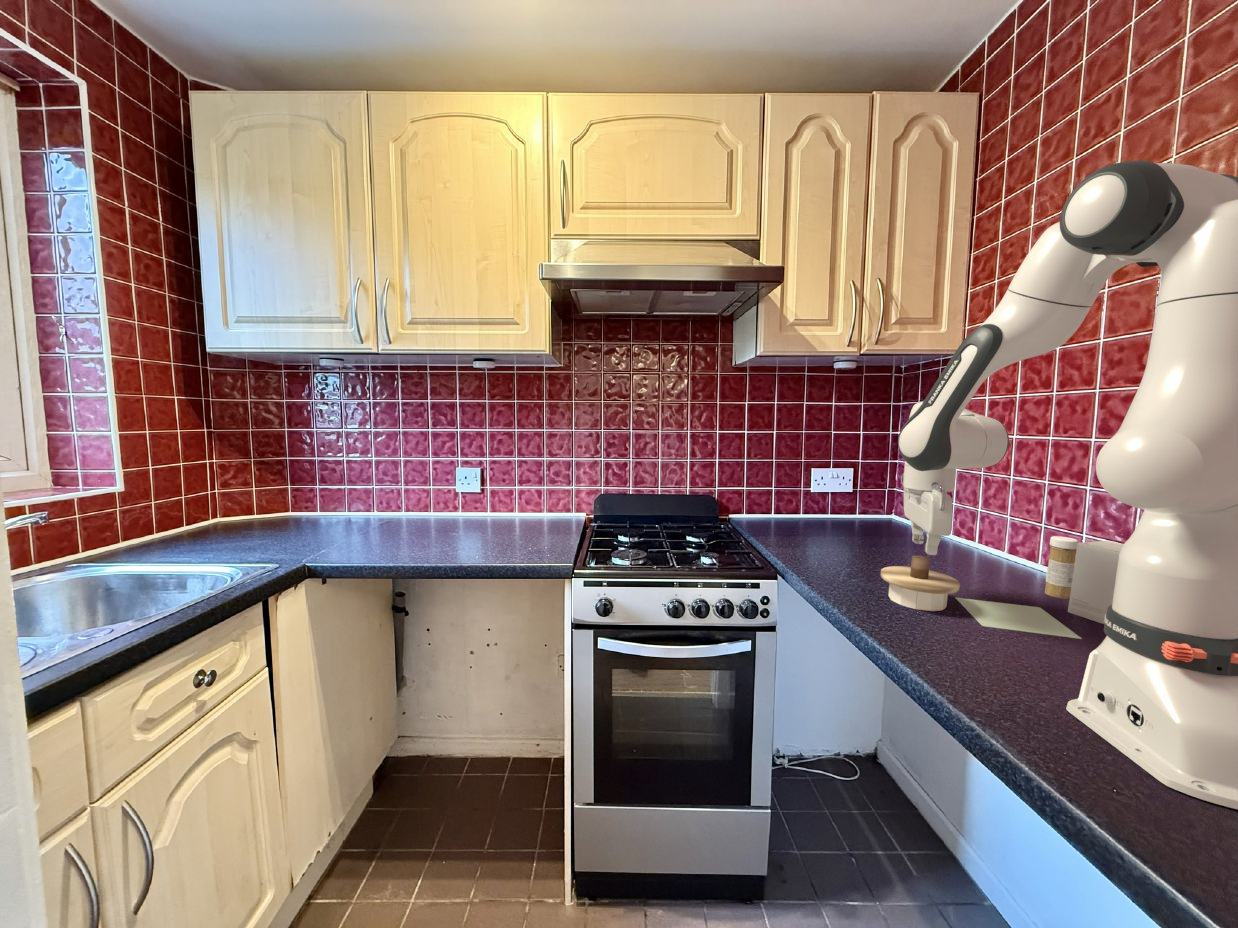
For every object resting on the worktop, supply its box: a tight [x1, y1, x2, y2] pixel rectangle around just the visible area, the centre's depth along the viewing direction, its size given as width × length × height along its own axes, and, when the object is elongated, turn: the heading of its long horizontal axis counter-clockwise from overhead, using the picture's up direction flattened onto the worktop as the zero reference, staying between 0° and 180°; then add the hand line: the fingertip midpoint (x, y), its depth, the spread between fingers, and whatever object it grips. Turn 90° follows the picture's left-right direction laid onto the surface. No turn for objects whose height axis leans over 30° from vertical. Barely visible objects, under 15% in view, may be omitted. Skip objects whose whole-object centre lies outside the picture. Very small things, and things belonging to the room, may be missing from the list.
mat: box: [955, 597, 1083, 640], centre depth 98 cm, size 15×15×1 cm
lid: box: [880, 555, 961, 595], centre depth 104 cm, size 14×14×5 cm
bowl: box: [888, 583, 949, 612], centre depth 105 cm, size 10×10×5 cm
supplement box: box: [1067, 540, 1124, 625], centre depth 98 cm, size 9×9×15 cm
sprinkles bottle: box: [1044, 535, 1079, 600], centre depth 110 cm, size 5×5×13 cm
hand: (923, 548), depth 103 cm, fingers open, 8 cm apart
